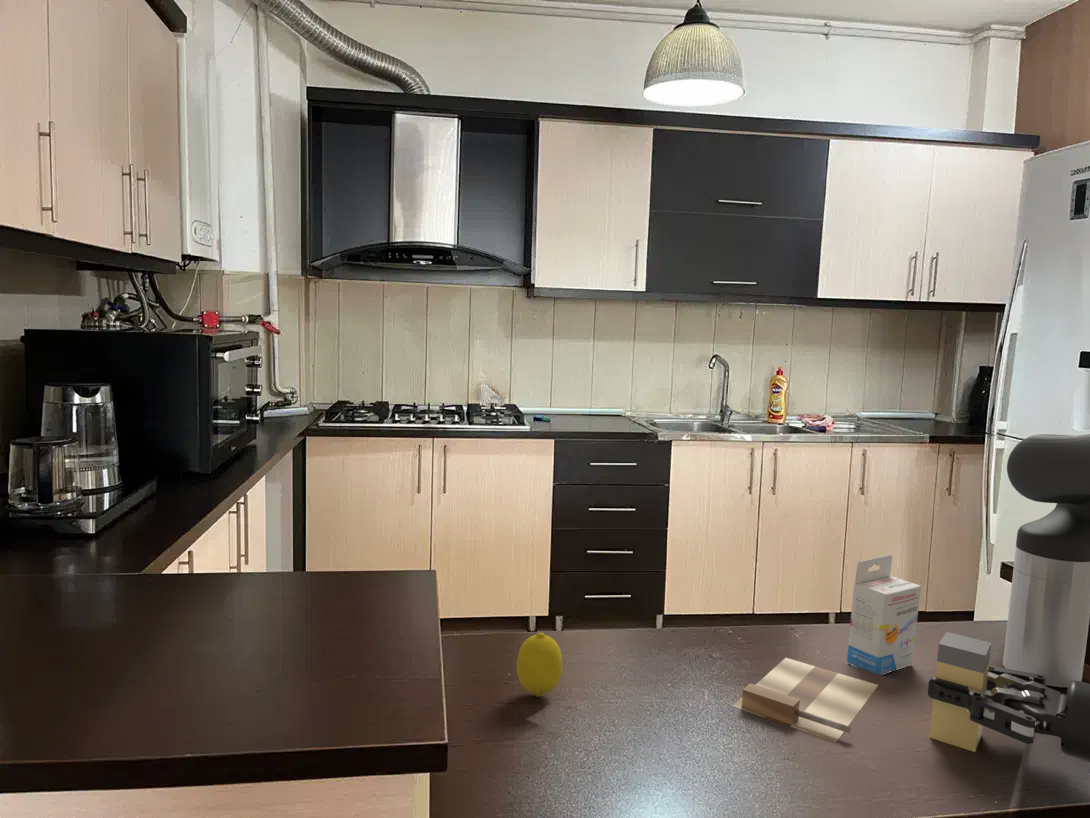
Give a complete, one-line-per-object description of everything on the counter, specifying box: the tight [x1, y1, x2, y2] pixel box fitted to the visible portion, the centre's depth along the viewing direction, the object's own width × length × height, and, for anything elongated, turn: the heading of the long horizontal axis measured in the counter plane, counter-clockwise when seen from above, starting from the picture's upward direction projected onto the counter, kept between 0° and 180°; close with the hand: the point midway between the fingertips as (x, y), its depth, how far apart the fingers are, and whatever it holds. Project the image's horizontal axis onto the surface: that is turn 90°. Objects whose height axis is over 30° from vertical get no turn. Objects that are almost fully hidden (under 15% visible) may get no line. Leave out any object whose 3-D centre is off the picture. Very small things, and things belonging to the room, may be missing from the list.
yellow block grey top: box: [929, 631, 992, 753], centre depth 86 cm, size 4×4×12 cm
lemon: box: [516, 632, 563, 698], centre depth 93 cm, size 6×6×8 cm
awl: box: [741, 682, 852, 734], centre depth 88 cm, size 2×12×2 cm, turn 53°
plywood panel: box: [731, 657, 879, 743], centre depth 94 cm, size 18×12×1 cm, turn 143°
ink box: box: [846, 554, 922, 676], centre depth 106 cm, size 8×5×15 cm, turn 123°
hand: (934, 679), depth 87 cm, fingers closed on yellow block grey top, 4 cm apart
